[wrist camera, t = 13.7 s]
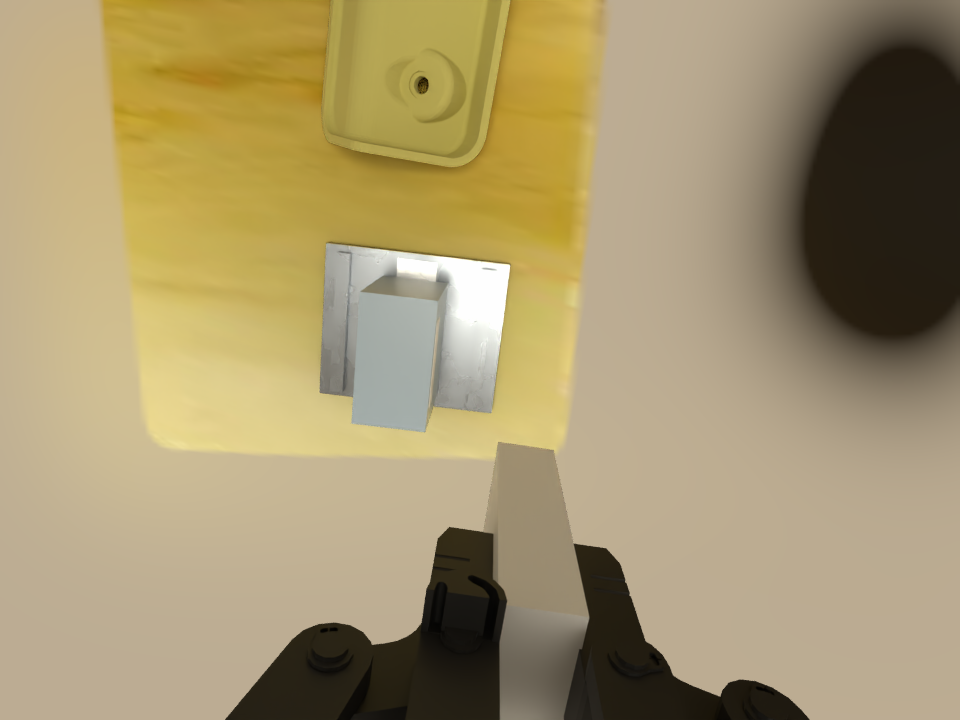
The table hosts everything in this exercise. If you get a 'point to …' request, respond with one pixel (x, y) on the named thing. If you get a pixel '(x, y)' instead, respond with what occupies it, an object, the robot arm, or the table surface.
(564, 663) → the robot arm
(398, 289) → the block
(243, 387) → the table surface
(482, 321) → the rail mount
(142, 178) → the table surface
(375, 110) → the plastic component
